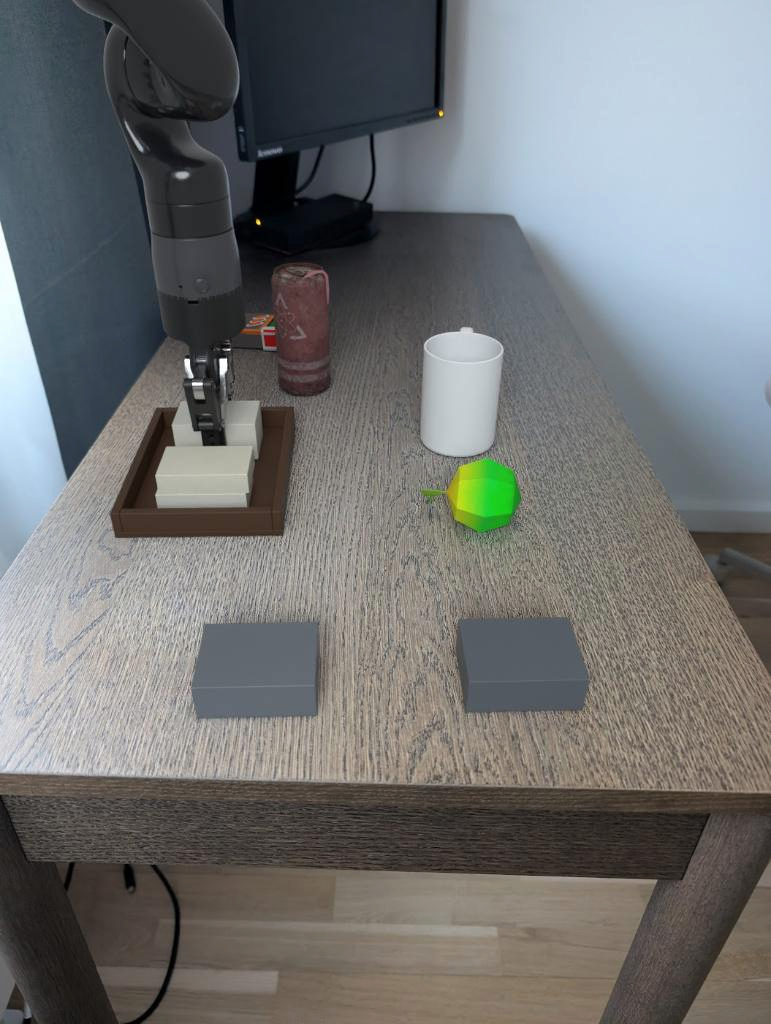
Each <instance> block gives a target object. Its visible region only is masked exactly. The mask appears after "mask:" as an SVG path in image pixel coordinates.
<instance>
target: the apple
mask: <svg viewBox="0 0 771 1024" xmlns="http://www.w3.org/2000/svg"><path fill="white" fill-rule="evenodd" d="M420 491H421V493H422V495H423V497H425V498H426V497H428V499H427V500H426V501H425V504H427V505H429V503H430V502H431V499H433V498H435V497H437V496H439V495H444V494H446V497H447V499H448V502H449V503H448V504H449V506H450V509H451V512H452V516H453V518H454V521H457V522H459V523H460V524H462V525H464V526H466V527H468V528H470V529H472V530H474V531H476V532H478V533H480V534H481V533H484V532H488V531H492V530H496V529H499V528H502V527H504V526H507V525H509V524H510V522H511V520H512V518H513V517H514V515H515V513H516V511H517V509H518V507H519V506H520V503H521V502H522V500H523V497H522V495H521V491H520V487H519V484H518V481H517V478H516V474H515V471H514V470H513V469H510V468H509V467H506V466H505V465H503V464H501V463H499V462H497V461H496V460H493V459H491V458H489V457H486V458H482V459H479V460H476V461H473V462H470V463H466V464H462V465H459V467H458V469H457V471H456V473H455V474H454V476H453V478H452V480H451V482H450V484H449V486H448V487H447V490H441V488H439V487H437V488H436V489H426V488H420Z"/></svg>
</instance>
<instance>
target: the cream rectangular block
mask: <svg viewBox="0 0 771 1024" xmlns="http://www.w3.org/2000/svg"><path fill="white" fill-rule="evenodd" d="M223 406H224V419H225V424H224V426H225V434H226V442H227V446H253V450H254V459H258V458H259V453H260V447H261V442H262V437H263V430H262V419H261V408H260V407H261V400H232V401H226V402H225V403H224V405H223ZM178 407H179V408H178V410H177V413H176V415H175V418H174V421H173V423H172V429H173V435H174V441H175V447H178V446H203V443H202V436H201V431H199V432H194V431H193V428H192V422H191V418H190V413H189V409H188V404H187V400H181V401H180V403H179V405H178ZM204 415H211V414H204Z"/></svg>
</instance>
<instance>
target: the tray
mask: <svg viewBox="0 0 771 1024" xmlns="http://www.w3.org/2000/svg"><path fill="white" fill-rule="evenodd" d="M178 408H179V406H173V407H171V406H169V407H168V406H167V407H166V406H165V407H155V410H154V412H153V414H152V416H151V419H150V421H149V423H148V426H147V428H146V430H145V432H144V434H143V437H142V440H141V441H140V444H139V446H138V449H137V451H136V453H135V455H134V457H133V459H132V462H131V465H130V467H129V469H128V471H127V473H126V475H125V477H124V481H123V483H122V485H121V487H120V489H119V492H118V494H117V497H116V498H115V501H114V503H113V505H112V508H111V510H110V512H109V516H110V517H109V518H110V521H111V525H112V529H113V530H112V531H113V535H114V538H115V539H117V538H118V539H124V538H126V539H127V538H129V539H132V538H134V539H135V538H187V537H188V538H195V537H196V538H198V537H201V538H202V537H203V538H205V537H207V538H208V537H269V536H271V537H272V536H273V537H275V536H276V537H278V536H283V534H284V528H285V527H284V526H285V520H286V519H285V518H286V510H287V501H288V494H289V486H290V485H289V484H290V477H291V469H292V459H293V450H294V443H295V433H296V417H295V416H296V415H295V406H285V405H284V406H260V408H261V419H262V430H263V437H262V442H261V447H260V453H259V458H258V459H254V460H255V465H254V471H253V487H252V492H251V498H250V503H249V507H223V508H158V507H157V502H156V496H155V495H156V492H157V489H158V487H157V482H156V477H155V475H156V472H157V470H158V467H159V465H160V462H161V459H162V457H163V454H164V451H165V449H166V447H175V441H174V435H173V429H172V423H173V421H174V418H175V415H176V413H177V410H178Z"/></svg>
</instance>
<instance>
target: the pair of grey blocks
mask: <svg viewBox="0 0 771 1024" xmlns="http://www.w3.org/2000/svg"><path fill="white" fill-rule="evenodd" d="M457 621H458V622H457V628H456V629H457V631H456V642H455V652H456V660H457V666H458V672H459V678H460V684H461V692H462V698H463V705H464V710H465V713H466V714H467V713H468V714H469V713H505V712H511V713H512V712H548V711H549V712H551V711H556V712H557V711H583V710H584V706H585V702H586V697H587V693H588V689H589V685H590V680H591V679H590V676H589V673H588V670H587V667H586V663H585V661H584V658H583V655H582V652H581V649H580V647H579V643H578V639H577V638H576V635H575V631H574V629H573V626H572V622H571V620H570V617H569V616H565V617H564V616H559V617H558V616H557V617H556V616H553V617H552V616H549V617H503V618H500V617H499V618H498V617H497V618H460V619H459V618H458V619H457ZM319 630H320V629H319V621H287V622H285V621H284V622H279V621H278V622H233V623H231V622H230V623H229V622H227V623H225V622H224V623H205V624H204V625H203V631H202V635H201V640H200V645H199V650H198V653H197V660H196V663H195V667H194V671H193V677H192V681H191V685H190V691H191V696H192V702H193V706H194V711H195V716H196V719H233V718H234V719H236V718H237V719H239V718H278V717H279V718H285V717H316V716H317V715H318V703H319V701H318V699H319V679H320V677H319V676H320V655H321V649H320V632H319Z"/></svg>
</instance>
